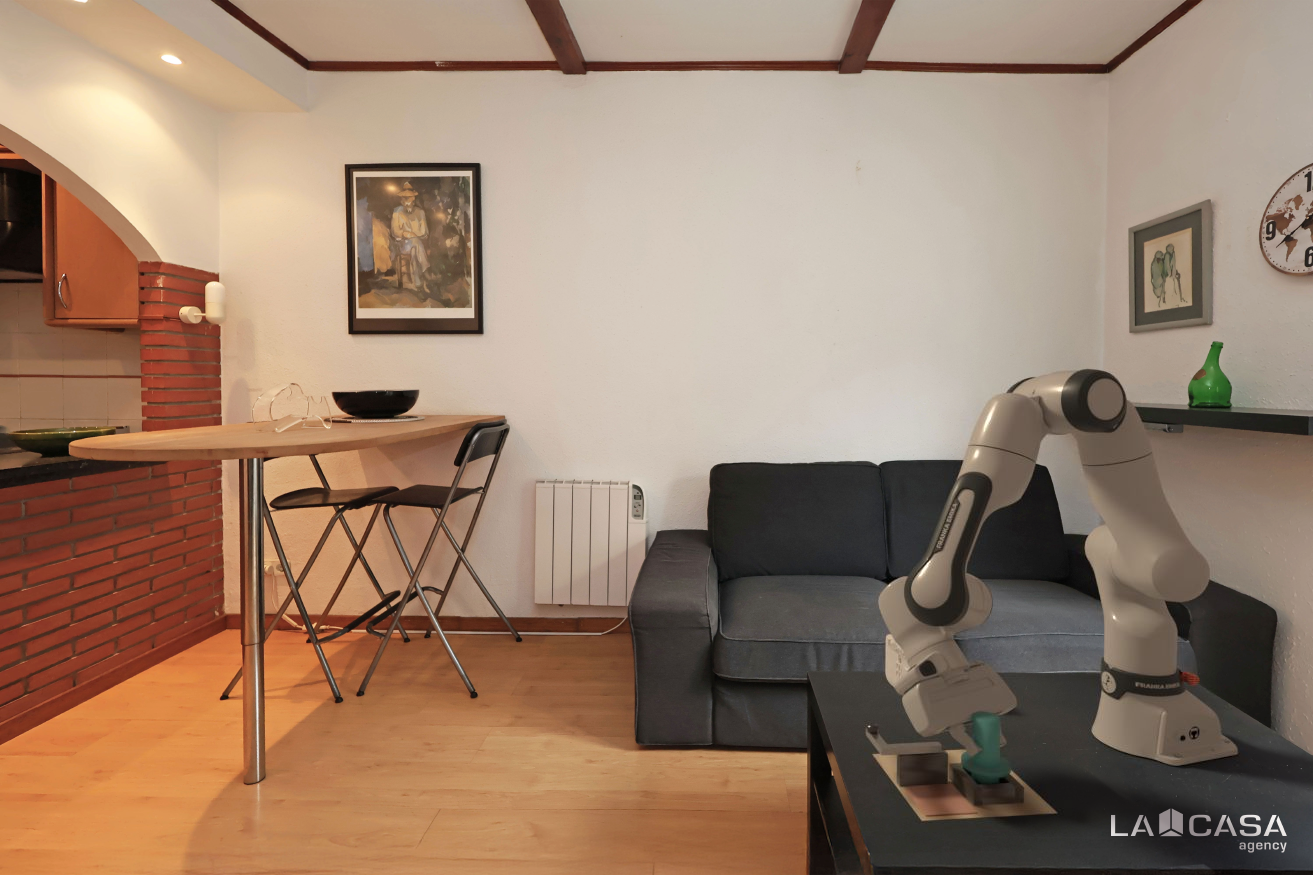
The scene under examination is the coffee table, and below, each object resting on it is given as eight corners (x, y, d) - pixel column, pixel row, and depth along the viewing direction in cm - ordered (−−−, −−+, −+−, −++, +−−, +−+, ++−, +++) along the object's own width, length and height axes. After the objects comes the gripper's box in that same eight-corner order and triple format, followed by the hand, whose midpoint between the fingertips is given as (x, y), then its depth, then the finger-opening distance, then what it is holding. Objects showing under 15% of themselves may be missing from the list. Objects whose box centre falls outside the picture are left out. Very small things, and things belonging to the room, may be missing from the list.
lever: (922, 732, 125) (923, 719, 125) (941, 752, 118) (941, 739, 118) (864, 734, 124) (864, 722, 124) (880, 755, 117) (880, 742, 117)
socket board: (987, 753, 130) (988, 720, 129) (1057, 819, 110) (1058, 780, 110) (872, 759, 128) (872, 726, 128) (921, 826, 108) (922, 787, 108)
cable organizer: (964, 707, 149) (964, 651, 148) (915, 710, 148) (915, 654, 147) (926, 678, 164) (927, 627, 163) (882, 681, 162) (882, 630, 162)
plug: (994, 776, 120) (996, 705, 119) (1019, 801, 113) (1021, 726, 112) (952, 779, 120) (953, 707, 119) (974, 803, 112) (975, 728, 112)
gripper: (973, 666, 130) (1021, 742, 122) (886, 688, 121) (931, 772, 113) (995, 649, 126) (1046, 727, 118) (906, 670, 117) (955, 757, 109)
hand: (989, 749), depth 115 cm, fingers closed on plug, 4 cm apart
